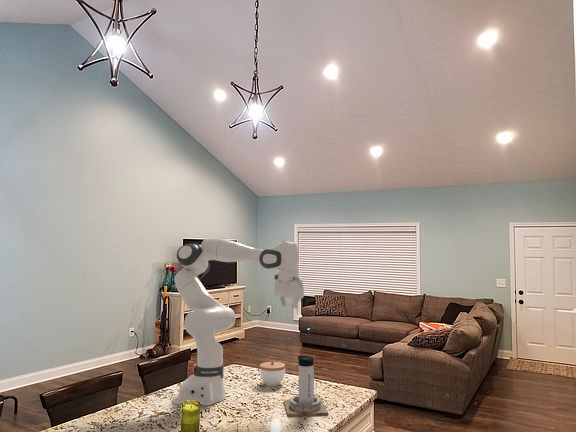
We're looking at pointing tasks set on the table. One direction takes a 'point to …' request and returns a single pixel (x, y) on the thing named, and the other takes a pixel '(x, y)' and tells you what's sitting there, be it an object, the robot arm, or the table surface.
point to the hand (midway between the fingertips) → (288, 307)
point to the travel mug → (306, 380)
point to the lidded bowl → (272, 373)
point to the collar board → (304, 407)
